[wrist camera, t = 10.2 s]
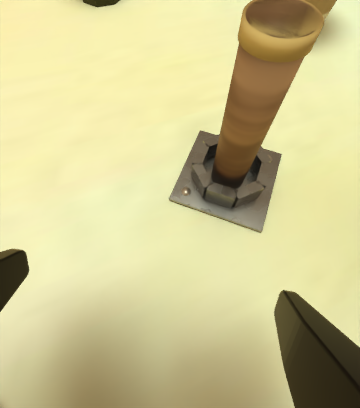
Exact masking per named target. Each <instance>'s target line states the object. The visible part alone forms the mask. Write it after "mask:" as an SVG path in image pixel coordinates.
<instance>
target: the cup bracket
mask: <svg viewBox="0 0 360 408" xmlns="http://www.w3.org/2000/svg"><path fill="white" fill-rule="evenodd" d="M219 136H220V134H219V135H214V134H211V133H207V132H204V131H200V132H199V134H198V136H197V139H196V141H195V143H194V145H193V147H192V150H191V152H190V154H189V156H188V158H187V161H186V163H185V165H184V167H183V169H182V171H181V174H180V176H179V178H178V180H177V182H176V185H175V187H174V189H173V191H172V193H171V196H170V198H169V200H170V201H173V202H175V203H178V204H181V205H184V206H187V207H190V208H193V209H195V210H198V211H201V212H204V213H207V214H210V215H212V216H215V217H218V218H221V219H224V220H227V221H229V222H232V223H235V224H238V225H241V226H244V227H246V228H249V229H252V230H255V231H258V232H262V229H263V225H264V222H265V218H266V214H267V210H268V206H269V202H270V198H271V194H272V190H273V186H274V182H275V178H276V174H277V170H278V166H279V162H280V158H281V154H280V153H276V152H273V151H270V150H266V149H263V148H262V147H261V146H260V148H259V150H258V153H257V155H256V157H255V159H254V161H253V163H252V165H251V167H250V169H249V171H248V173H247V175H246V177H245V179H244V181H243V183H242V185H241V186H240V187H238V188H237V189H233V188H230V187H227V186H223V185H220V184H217V183H214V182H213V180H212V176H211V174H212V169H213V164H214V160H215V155H216V150H217V145H218V141H219Z"/></svg>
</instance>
